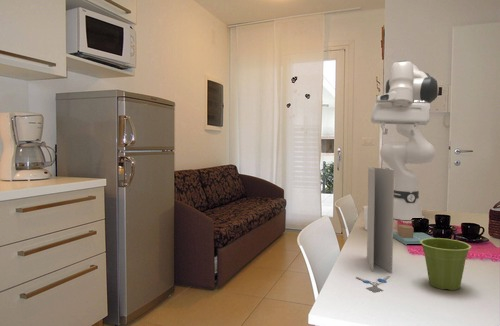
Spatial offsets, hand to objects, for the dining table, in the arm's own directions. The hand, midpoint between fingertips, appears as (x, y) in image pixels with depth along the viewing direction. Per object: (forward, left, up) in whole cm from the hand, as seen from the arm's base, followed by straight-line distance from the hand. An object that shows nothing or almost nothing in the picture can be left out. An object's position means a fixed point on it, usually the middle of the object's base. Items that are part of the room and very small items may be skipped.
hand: (398, 134), depth 136 cm
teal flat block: (-5, +13, -41) cm, 43 cm away
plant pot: (+41, -4, -41) cm, 58 cm away
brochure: (+24, -15, -41) cm, 50 cm away
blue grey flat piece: (+38, -23, -42) cm, 61 cm away
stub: (-5, +6, -41) cm, 42 cm away
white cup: (-24, 0, -41) cm, 48 cm away
